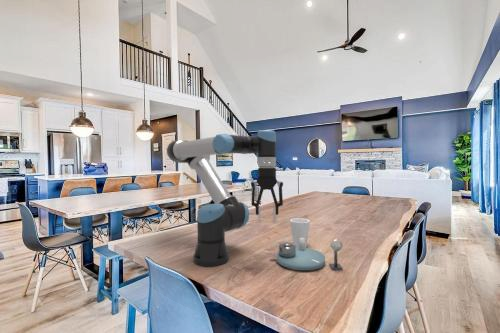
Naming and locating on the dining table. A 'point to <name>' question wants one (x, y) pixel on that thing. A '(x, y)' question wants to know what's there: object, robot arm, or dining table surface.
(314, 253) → the turntable
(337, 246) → the dial stand
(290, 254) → the cover
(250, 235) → the dining table surface
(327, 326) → the dining table surface
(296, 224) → the foam cup
